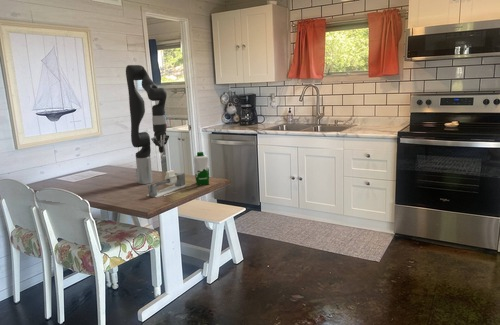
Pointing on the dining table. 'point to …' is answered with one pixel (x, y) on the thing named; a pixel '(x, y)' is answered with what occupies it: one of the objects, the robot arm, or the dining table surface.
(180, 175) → the cord rig
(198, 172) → the milk carton
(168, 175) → the cream stepped block
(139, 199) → the dining table surface
